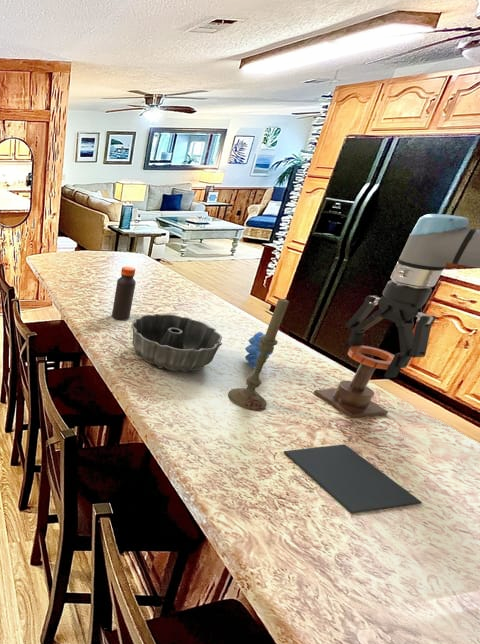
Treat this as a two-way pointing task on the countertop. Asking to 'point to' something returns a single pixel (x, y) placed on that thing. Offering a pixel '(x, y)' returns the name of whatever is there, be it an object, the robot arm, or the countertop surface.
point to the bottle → (124, 294)
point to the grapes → (254, 349)
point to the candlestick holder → (260, 363)
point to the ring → (357, 356)
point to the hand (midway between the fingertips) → (368, 366)
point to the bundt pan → (175, 341)
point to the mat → (351, 478)
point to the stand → (354, 395)
